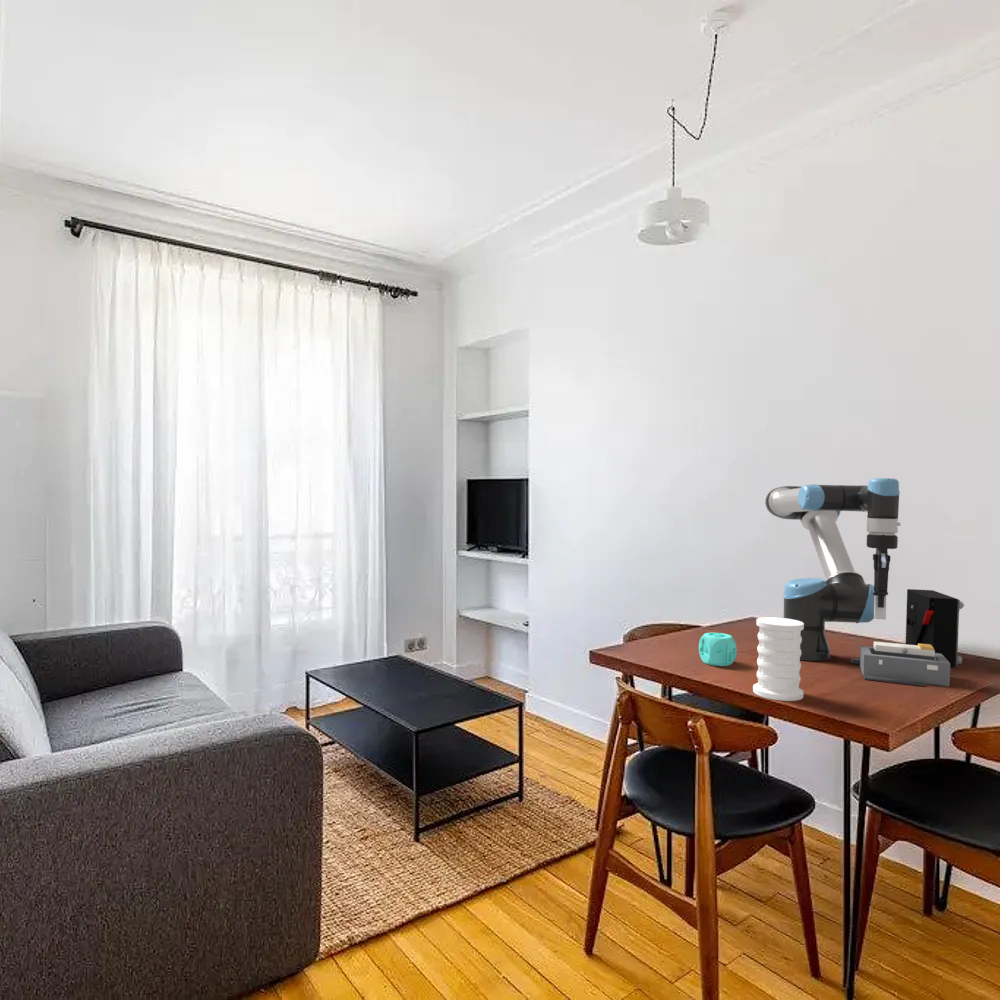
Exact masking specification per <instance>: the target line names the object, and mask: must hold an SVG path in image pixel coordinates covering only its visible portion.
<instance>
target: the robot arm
mask: <svg viewBox="0 0 1000 1000" xmlns="http://www.w3.org/2000/svg"><path fill="white" fill-rule="evenodd" d="M867 483H868V484H867V485H856V484H855V485H848V484H847V485H843V484H842V485H840V484H838V485H837V484H836V485H835V484H815V483H814V484H804V485H802V486H798V485H794V486H793V485H785V486H779V487H775V488H773V489H771V490H770V491H769V492H768V493H767V495H766V497H765V503H764V504H765V506H766V509H767V511H768V512H769V513H770V514H771V515H773V516H775V517H777V518H779V519H782V520H799V521H800V522H801V526H802V527H803V528H805V529H806V530H808V531H809V534H810V537H811V540H812V543H813V546H814V548H815V551H816V553H817V557H818V560H819V563H820V566H821V568H822V572H823V574H824V576H825V579H824V578H821V577H803V578H794V579H791V580H788V581H787V582H786V583H785V585H784V591H783V596H782V597H783V618H787V619H793V620H797V621H801V622H803V623H804V629H803V630H801V633H800V636H801V638H802V642H801V644H800V649H801V657H800V661H809V662H810V661H813V662H814V661H815V662H818V661H819V662H822V661H827V660H830V659H831V649H830V646H829V643H828V638H827V636H826V633H825V630H826V629H825V628H826V627H825V625H826V622H827V623H855V624H864V623H870V622H872V621H873V620H886V619H887V618H886V616H887V596H888V595H889V593H888V588H889V587H888V585H889V583H888V582H889V571H890V564H891V555H889V553H888V552H889V551H888V550H894V549H895V550H896V549H898V541H899V537H898V535H896V534H897V533H899V530H898V529H899V527H900V526H901V522H898V521H899V510H900V509H899V507H900V506H899V505H900V504H899V503H900V483H899V480H898V479H897V478H888V477H887V478H886V477H884V478H881V477H879V478H878V477H876V478H875V477H874V478H869V480H868V482H867ZM841 512H863V513H864V512H867V515H866V516H867V518H866V532H867V533H868V534H867V535H866V547H867V548H869V549H871V548H872V549H875V553H873V554H872V560H873V570H874V571H873V572H874V573H873V575H874V577H873V578H874V579H873V584H871V583H868V584H867V583H866V582H865V579H864V578H863V576H862V574H860V573H858V572H857V571H855V569H854V566H853V563H852V561H851V559H850V556H849V554H848V551H847V548H846V545H845V543H844V541H843V537H842V535H841V533H840V531H839V527H838V525H837V523H836V522H837V521H838V518H839V516H840V515H841Z"/></svg>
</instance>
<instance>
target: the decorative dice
mask: <svg viewBox="0 0 1000 1000" xmlns="http://www.w3.org/2000/svg"><path fill="white" fill-rule="evenodd" d="M737 649H738V648H737V643H736V641H735V639H734V637H733V636H732V635H731V634H727V633H724V632H706V633H705V632H704V634H703V635H701V637H700V639H699V642H698V653H699V657H700V659H701V661H702V663H704V664H707V665H710V666H715V667H727V666H731V665H732V664H733V663H734V662H735V661H736V658H737V651H738V650H737Z"/></svg>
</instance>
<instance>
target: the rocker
mask: <svg viewBox="0 0 1000 1000" xmlns="http://www.w3.org/2000/svg"><path fill="white" fill-rule="evenodd" d="M873 647H874V649H875V651H883V652H893V653H903V654H913V655H923V656H933V657H935V650H934V648H933V647H932V646H931V645H930V644H919V643H918V646H917V645H907V644H906V643H897V642H896V643H893V642H886V641H873Z"/></svg>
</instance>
